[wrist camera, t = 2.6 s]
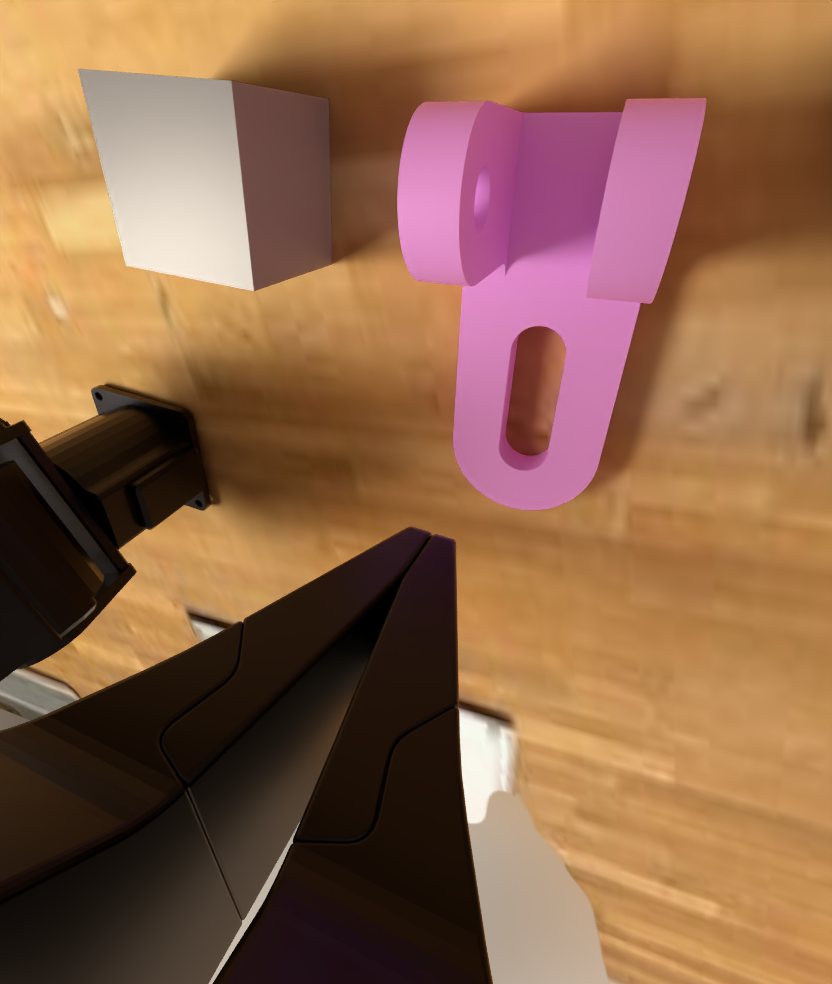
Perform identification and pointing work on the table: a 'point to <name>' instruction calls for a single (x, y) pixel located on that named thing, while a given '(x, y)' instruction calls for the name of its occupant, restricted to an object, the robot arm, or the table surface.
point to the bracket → (543, 262)
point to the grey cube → (214, 176)
